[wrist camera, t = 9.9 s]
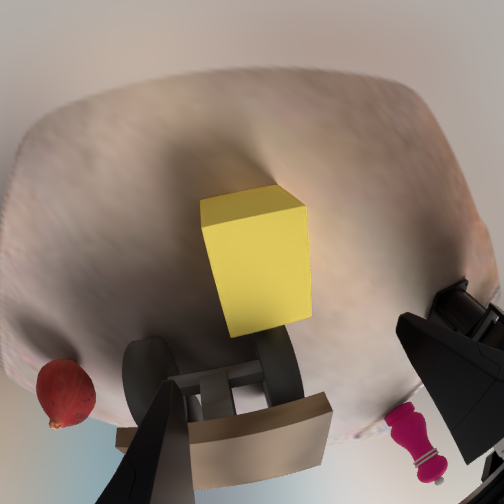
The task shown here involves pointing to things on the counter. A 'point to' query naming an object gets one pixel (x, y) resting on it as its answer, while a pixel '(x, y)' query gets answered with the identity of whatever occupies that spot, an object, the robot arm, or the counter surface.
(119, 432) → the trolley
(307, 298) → the block
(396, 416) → the pepper mill
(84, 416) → the onion
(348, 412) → the counter surface
